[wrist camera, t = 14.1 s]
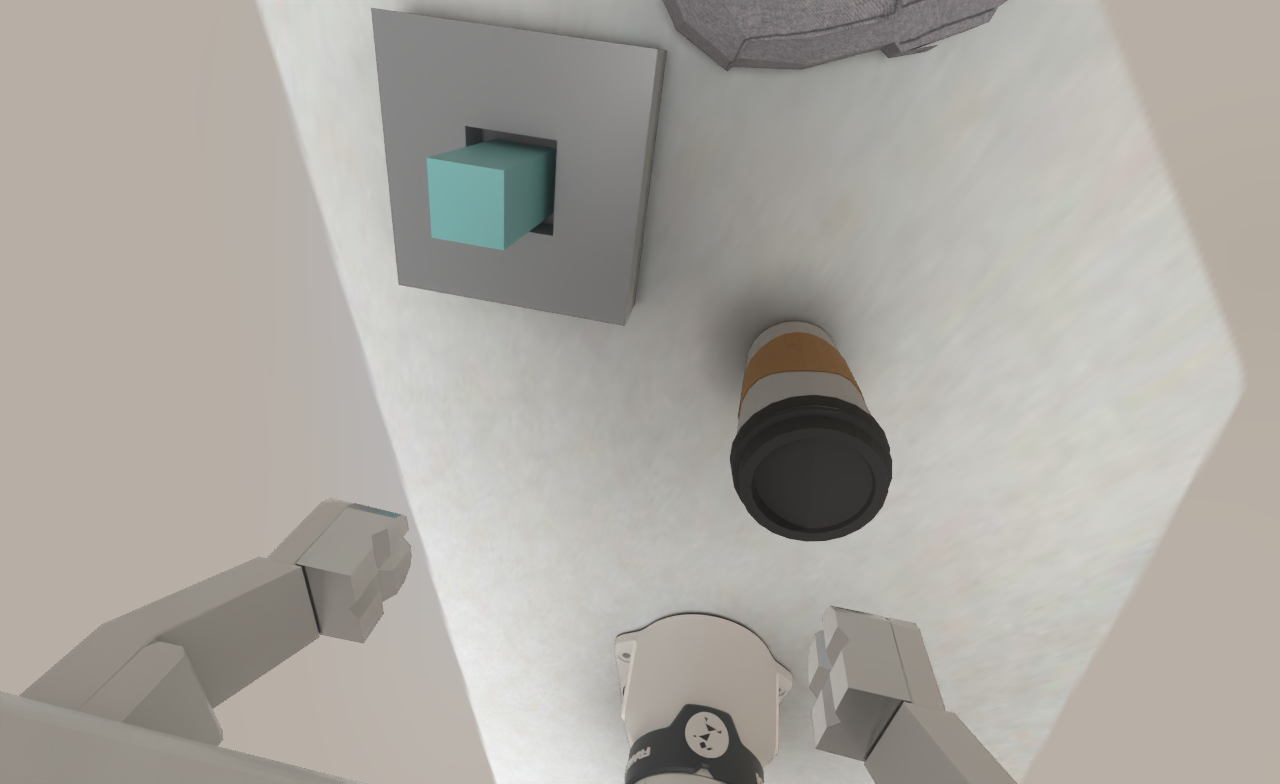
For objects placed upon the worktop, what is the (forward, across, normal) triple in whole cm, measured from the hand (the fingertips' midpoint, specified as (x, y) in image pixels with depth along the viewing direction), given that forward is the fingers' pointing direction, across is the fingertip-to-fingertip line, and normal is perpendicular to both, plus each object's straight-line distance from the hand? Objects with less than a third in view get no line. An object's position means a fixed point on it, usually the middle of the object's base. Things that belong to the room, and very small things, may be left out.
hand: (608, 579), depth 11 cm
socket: (+31, +12, -1) cm, 33 cm away
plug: (+30, +12, -1) cm, 32 cm away
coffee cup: (+31, -8, +9) cm, 34 cm away
